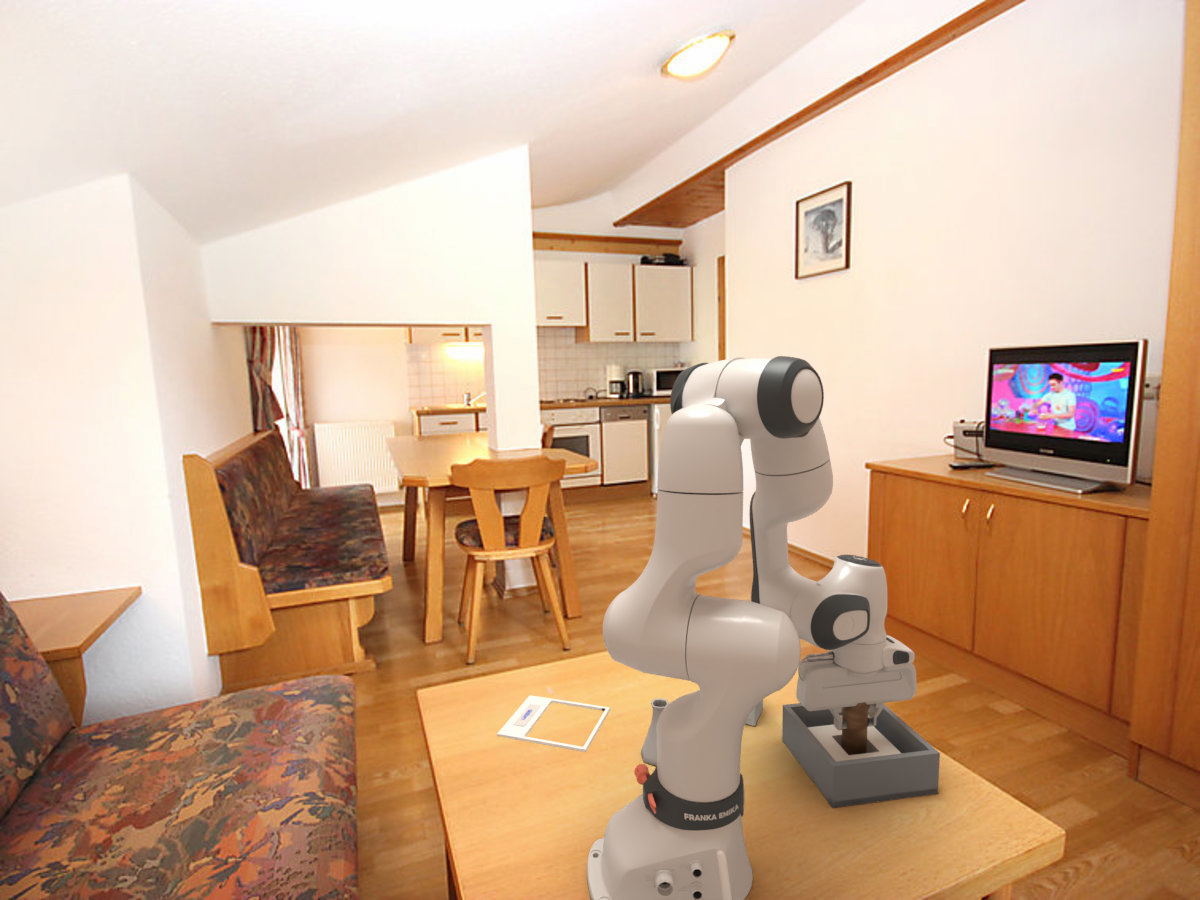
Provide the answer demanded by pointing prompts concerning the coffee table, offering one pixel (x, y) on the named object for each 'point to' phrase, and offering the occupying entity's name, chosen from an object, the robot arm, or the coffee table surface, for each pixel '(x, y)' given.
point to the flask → (653, 732)
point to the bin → (861, 758)
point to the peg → (855, 729)
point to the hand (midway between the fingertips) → (855, 726)
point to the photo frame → (530, 715)
